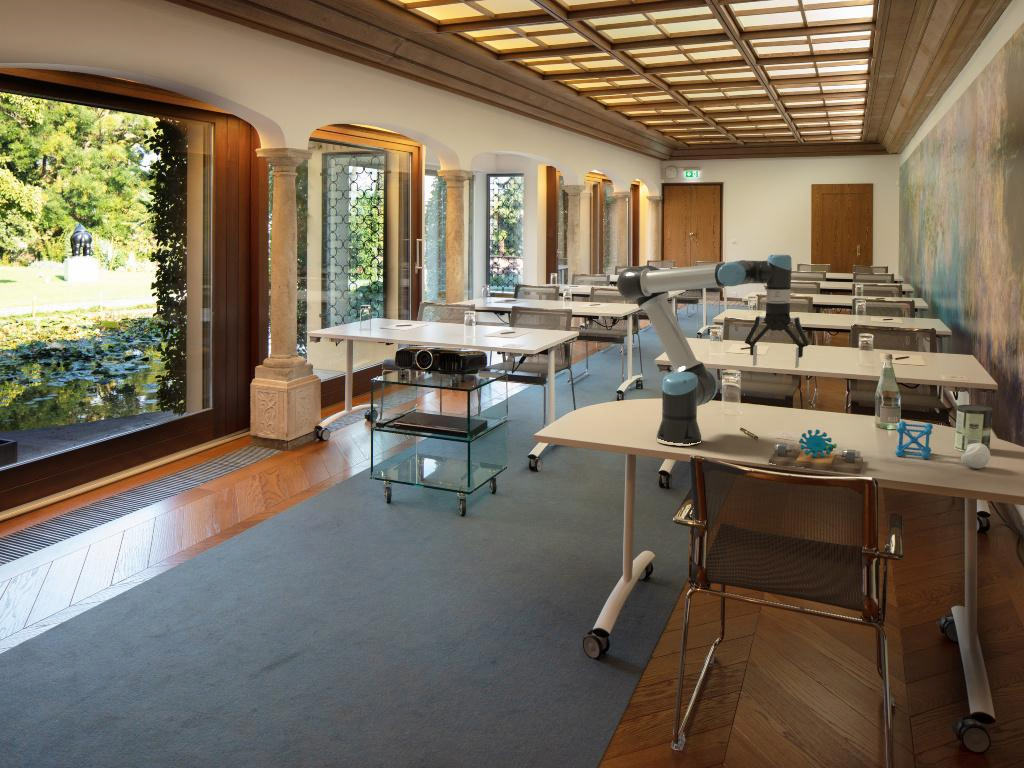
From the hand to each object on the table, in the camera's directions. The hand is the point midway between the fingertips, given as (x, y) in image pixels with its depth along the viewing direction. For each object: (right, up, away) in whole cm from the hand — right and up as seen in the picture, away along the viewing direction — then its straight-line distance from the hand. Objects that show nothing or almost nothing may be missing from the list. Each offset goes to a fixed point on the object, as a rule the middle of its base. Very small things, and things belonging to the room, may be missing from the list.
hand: (775, 366), depth 285 cm
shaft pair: (+7, -29, -19) cm, 35 cm away
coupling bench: (+7, -30, -19) cm, 36 cm away
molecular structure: (+40, -29, -11) cm, 51 cm away
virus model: (+7, -28, -18) cm, 34 cm away
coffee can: (+62, -27, -6) cm, 68 cm away
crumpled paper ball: (+51, -31, -27) cm, 66 cm away
